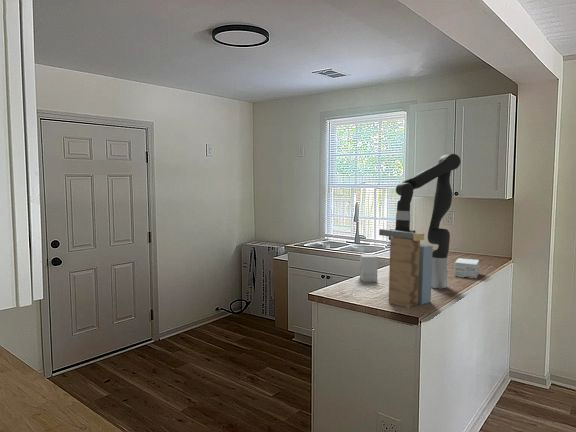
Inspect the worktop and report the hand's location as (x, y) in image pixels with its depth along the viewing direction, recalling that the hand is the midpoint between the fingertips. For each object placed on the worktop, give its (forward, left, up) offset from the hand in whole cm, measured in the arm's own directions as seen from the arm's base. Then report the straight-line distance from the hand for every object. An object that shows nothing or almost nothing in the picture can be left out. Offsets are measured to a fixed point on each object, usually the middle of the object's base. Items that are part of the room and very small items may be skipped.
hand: (401, 248), depth 239 cm
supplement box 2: (-63, +1, -23) cm, 67 cm away
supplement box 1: (0, -24, -23) cm, 33 cm away
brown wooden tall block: (+24, +21, -22) cm, 39 cm away
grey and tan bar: (+24, +17, +10) cm, 31 cm away
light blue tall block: (+14, +21, -22) cm, 34 cm away
